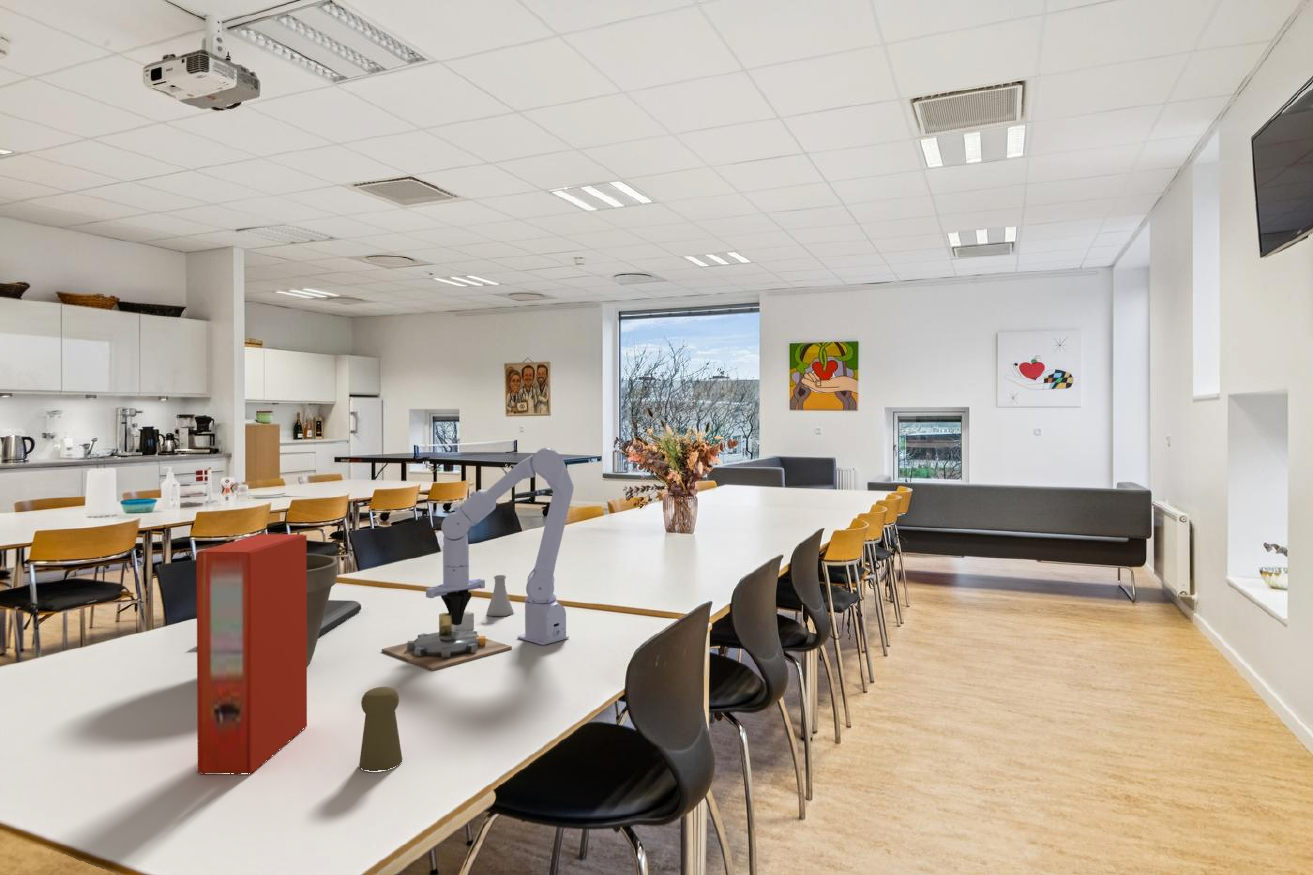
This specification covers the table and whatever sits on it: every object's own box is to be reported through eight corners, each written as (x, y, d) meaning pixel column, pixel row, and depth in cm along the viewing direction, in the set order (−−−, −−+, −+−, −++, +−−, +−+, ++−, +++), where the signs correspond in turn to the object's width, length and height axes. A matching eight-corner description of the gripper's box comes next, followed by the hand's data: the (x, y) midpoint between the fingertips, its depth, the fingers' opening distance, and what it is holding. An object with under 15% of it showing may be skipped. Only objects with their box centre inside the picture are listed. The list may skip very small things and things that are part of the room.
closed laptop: (270, 598, 208) (361, 599, 208) (270, 613, 208) (361, 615, 208) (197, 631, 175) (304, 633, 175) (197, 650, 175) (304, 651, 175)
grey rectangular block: (473, 629, 190) (473, 612, 190) (456, 633, 186) (456, 616, 186) (466, 627, 192) (466, 610, 192) (449, 631, 188) (448, 614, 188)
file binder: (308, 727, 129) (306, 534, 128) (253, 774, 112) (250, 551, 111) (260, 727, 129) (257, 534, 128) (197, 774, 112) (194, 551, 111)
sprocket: (501, 645, 173) (500, 618, 173) (435, 662, 160) (434, 634, 160) (457, 631, 184) (457, 607, 184) (392, 647, 172) (392, 620, 171)
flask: (517, 610, 208) (517, 573, 208) (509, 617, 201) (509, 578, 201) (490, 610, 209) (490, 573, 209) (482, 617, 202) (481, 578, 202)
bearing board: (511, 649, 173) (511, 646, 173) (432, 670, 158) (432, 667, 158) (459, 633, 186) (459, 630, 186) (381, 651, 171) (381, 648, 171)
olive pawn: (407, 754, 118) (406, 682, 118) (395, 772, 112) (394, 696, 112) (367, 755, 118) (366, 682, 118) (352, 773, 112) (352, 696, 112)
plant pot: (364, 660, 165) (363, 558, 165) (253, 695, 144) (251, 578, 144) (290, 643, 178) (289, 548, 178) (178, 673, 157) (177, 566, 156)
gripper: (472, 558, 187) (472, 615, 187) (418, 567, 176) (418, 627, 177) (490, 562, 182) (490, 620, 183) (435, 571, 172) (436, 632, 172)
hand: (456, 624), depth 179 cm, fingers closed
